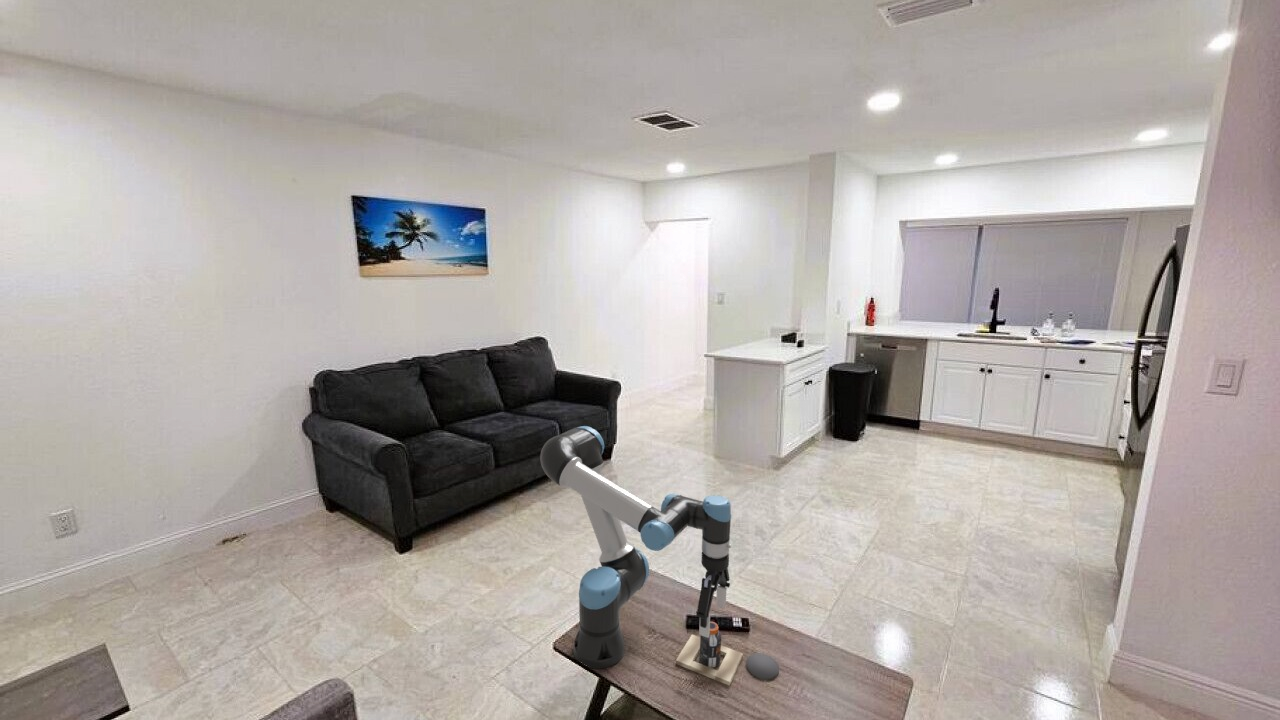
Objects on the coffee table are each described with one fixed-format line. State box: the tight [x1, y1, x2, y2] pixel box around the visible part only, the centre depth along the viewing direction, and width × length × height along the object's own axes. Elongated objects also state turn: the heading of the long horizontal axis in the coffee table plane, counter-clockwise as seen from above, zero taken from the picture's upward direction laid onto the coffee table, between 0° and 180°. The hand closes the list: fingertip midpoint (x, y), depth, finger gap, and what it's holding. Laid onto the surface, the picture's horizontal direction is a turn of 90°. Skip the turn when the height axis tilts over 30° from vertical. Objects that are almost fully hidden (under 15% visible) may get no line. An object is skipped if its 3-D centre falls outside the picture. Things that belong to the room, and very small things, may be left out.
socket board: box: [675, 634, 744, 687], centre depth 149 cm, size 16×12×1 cm
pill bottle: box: [699, 621, 722, 668], centre depth 148 cm, size 6×6×11 cm
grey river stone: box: [745, 652, 780, 681], centre depth 147 cm, size 9×9×1 cm
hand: (712, 620), depth 147 cm, fingers open, 13 cm apart
